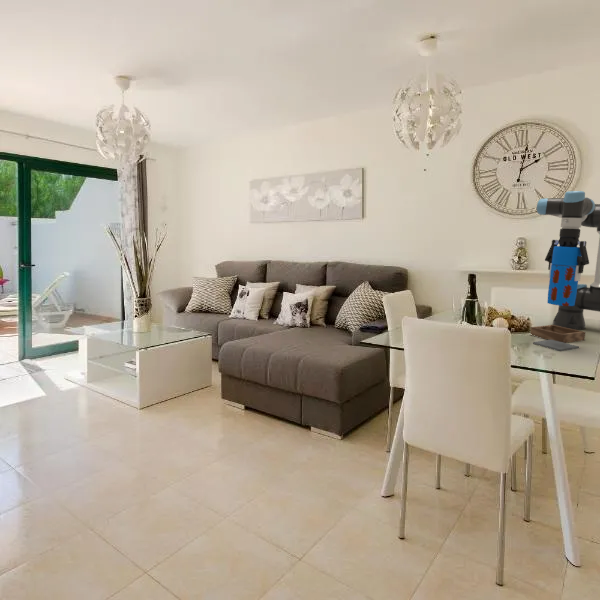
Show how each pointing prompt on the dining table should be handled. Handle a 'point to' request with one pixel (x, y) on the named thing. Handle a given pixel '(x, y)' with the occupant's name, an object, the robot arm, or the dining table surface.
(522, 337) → the dining table surface
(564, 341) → the tray
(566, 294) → the blue box
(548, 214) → the robot arm
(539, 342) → the mat
